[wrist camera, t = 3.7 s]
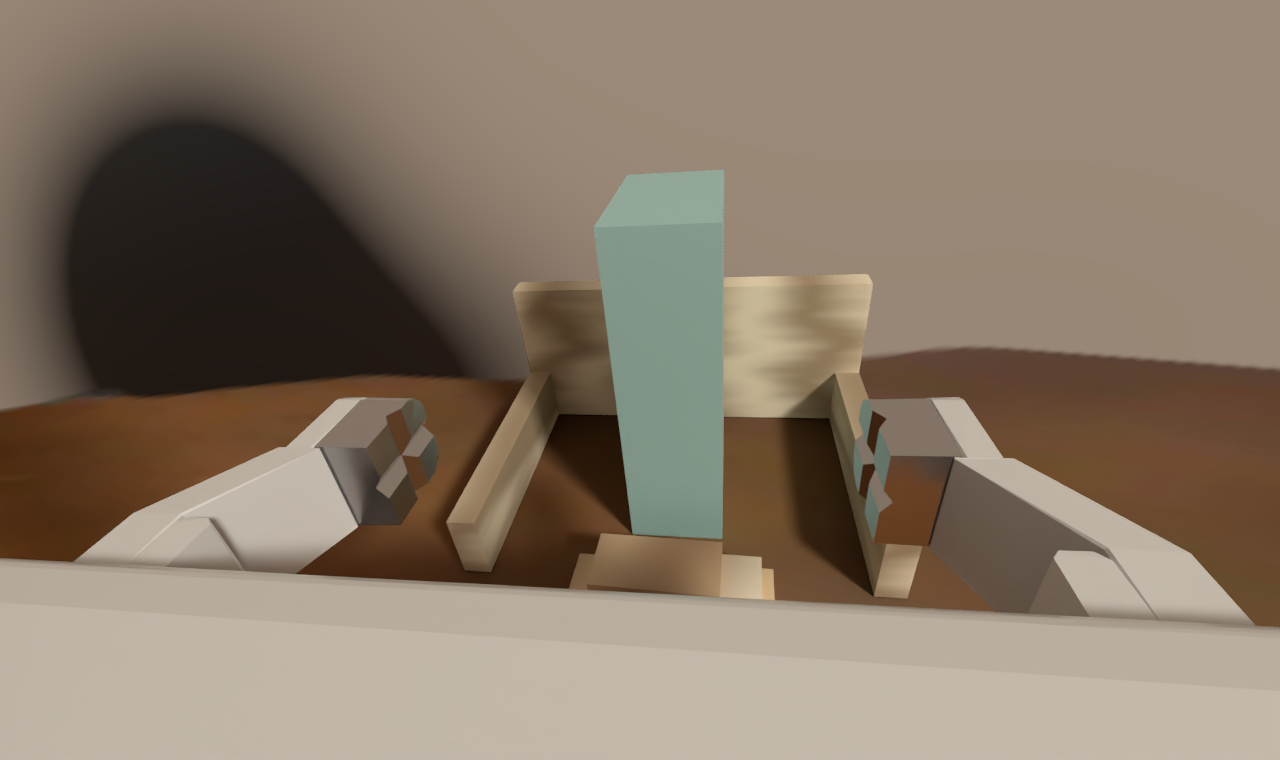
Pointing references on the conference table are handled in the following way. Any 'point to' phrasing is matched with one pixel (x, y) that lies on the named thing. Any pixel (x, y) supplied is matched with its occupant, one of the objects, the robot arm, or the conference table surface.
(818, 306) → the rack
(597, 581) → the offcut stack
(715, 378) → the teal board
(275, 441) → the conference table surface
